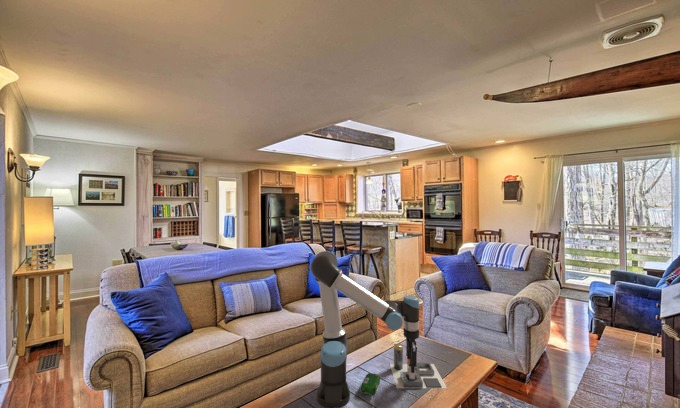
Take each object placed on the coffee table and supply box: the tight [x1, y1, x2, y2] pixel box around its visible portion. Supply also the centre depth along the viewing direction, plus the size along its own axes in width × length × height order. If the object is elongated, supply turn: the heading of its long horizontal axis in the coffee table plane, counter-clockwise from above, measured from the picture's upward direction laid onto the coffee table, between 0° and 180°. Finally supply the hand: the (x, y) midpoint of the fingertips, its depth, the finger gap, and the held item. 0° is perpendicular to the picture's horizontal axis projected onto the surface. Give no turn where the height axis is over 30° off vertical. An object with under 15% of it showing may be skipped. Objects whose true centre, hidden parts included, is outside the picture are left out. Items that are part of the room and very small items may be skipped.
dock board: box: [389, 363, 448, 389], centre depth 160 cm, size 24×22×1 cm
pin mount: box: [400, 372, 424, 389], centre depth 154 cm, size 9×9×3 cm
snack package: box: [360, 372, 381, 396], centre depth 149 cm, size 7×16×5 cm, turn 159°
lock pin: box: [406, 358, 415, 380], centre depth 154 cm, size 4×4×11 cm
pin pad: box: [423, 378, 443, 389], centre depth 153 cm, size 7×7×1 cm
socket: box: [415, 362, 434, 375], centre depth 164 cm, size 8×8×2 cm
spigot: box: [393, 343, 404, 370], centre depth 167 cm, size 5×5×12 cm
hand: (411, 375), depth 154 cm, fingers closed on lock pin, 4 cm apart
